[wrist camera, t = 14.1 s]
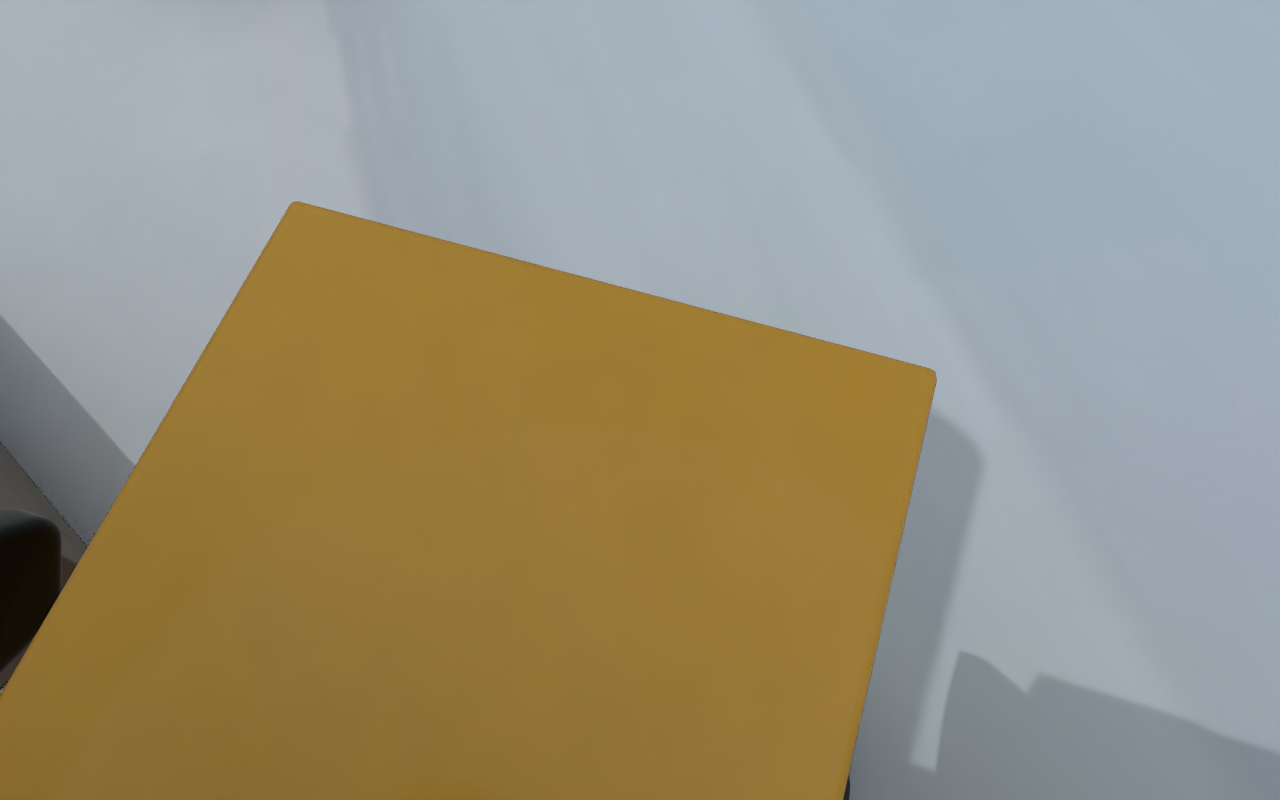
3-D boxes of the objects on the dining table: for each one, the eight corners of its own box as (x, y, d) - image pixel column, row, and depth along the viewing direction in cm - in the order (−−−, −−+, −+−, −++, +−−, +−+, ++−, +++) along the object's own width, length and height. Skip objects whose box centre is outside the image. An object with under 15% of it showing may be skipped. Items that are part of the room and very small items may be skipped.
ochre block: (699, 1011, 13) (742, 1254, 5) (354, 878, 14) (-119, 887, 5) (794, 644, 15) (940, 367, 7) (489, 546, 16) (291, 197, 7)
